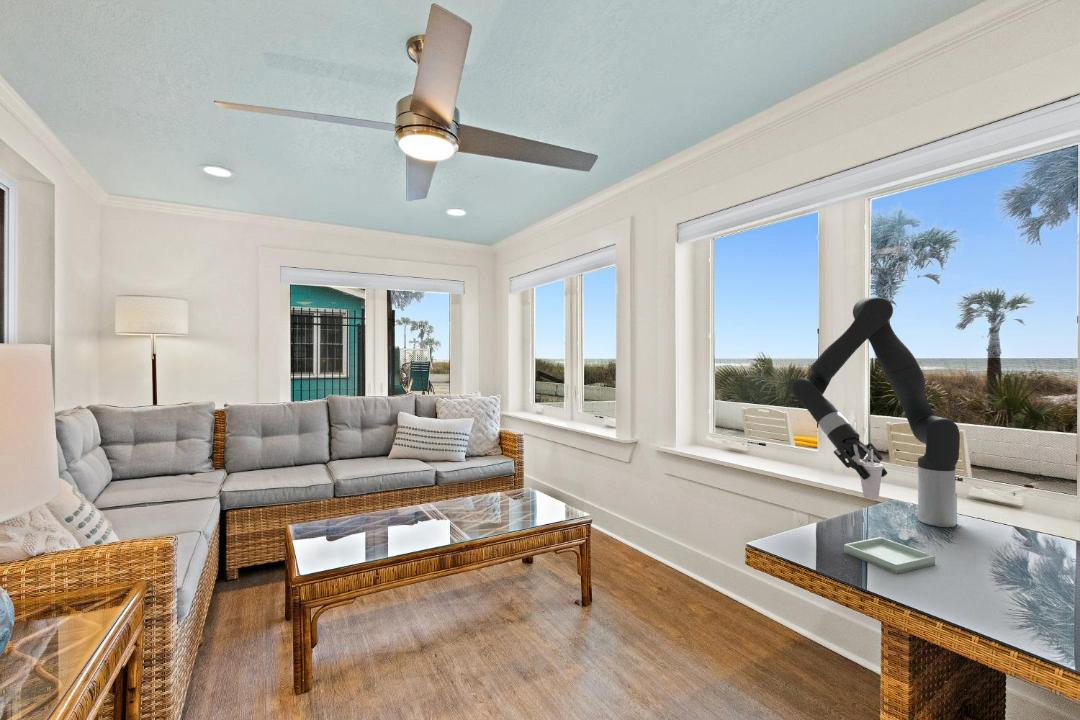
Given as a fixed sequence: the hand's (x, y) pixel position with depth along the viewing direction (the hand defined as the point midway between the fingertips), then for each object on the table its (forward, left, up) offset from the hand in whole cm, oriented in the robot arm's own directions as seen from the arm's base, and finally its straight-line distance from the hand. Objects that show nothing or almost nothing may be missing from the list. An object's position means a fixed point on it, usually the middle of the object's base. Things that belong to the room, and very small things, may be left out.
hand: (876, 476), depth 142 cm
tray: (+10, +10, -18) cm, 23 cm away
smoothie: (0, -2, -7) cm, 7 cm away
